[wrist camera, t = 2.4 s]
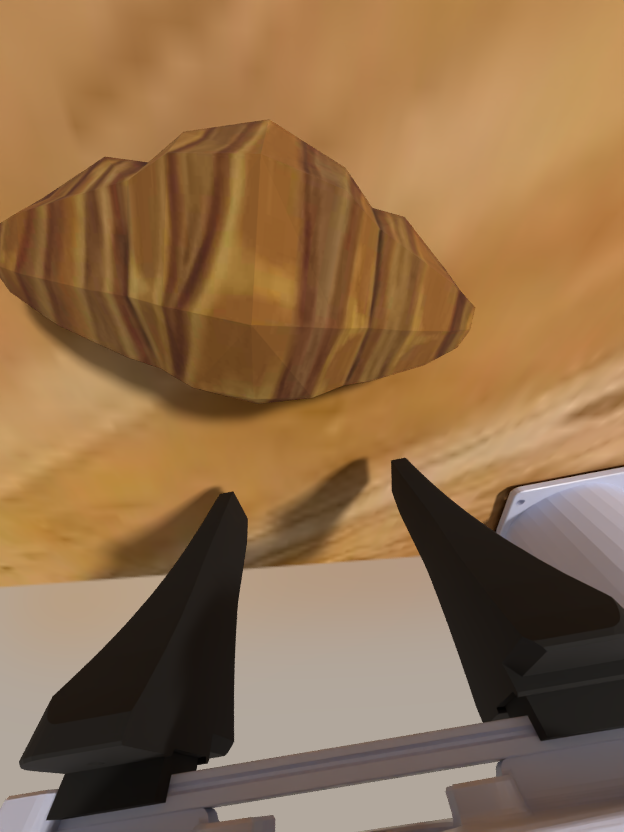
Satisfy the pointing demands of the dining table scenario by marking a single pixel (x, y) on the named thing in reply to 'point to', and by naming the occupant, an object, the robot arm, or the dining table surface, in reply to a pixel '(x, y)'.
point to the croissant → (236, 268)
